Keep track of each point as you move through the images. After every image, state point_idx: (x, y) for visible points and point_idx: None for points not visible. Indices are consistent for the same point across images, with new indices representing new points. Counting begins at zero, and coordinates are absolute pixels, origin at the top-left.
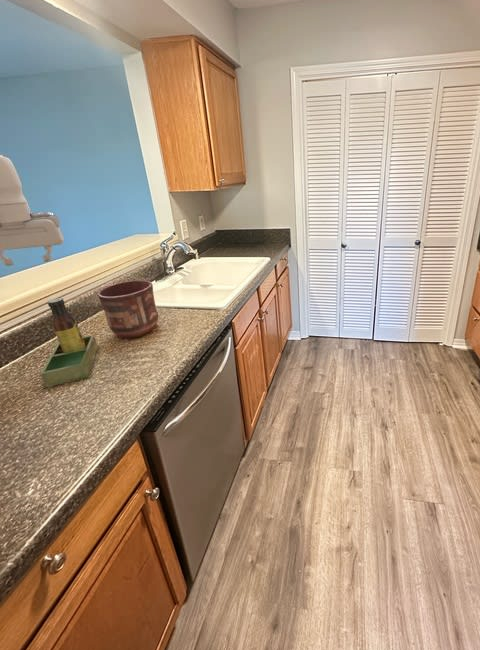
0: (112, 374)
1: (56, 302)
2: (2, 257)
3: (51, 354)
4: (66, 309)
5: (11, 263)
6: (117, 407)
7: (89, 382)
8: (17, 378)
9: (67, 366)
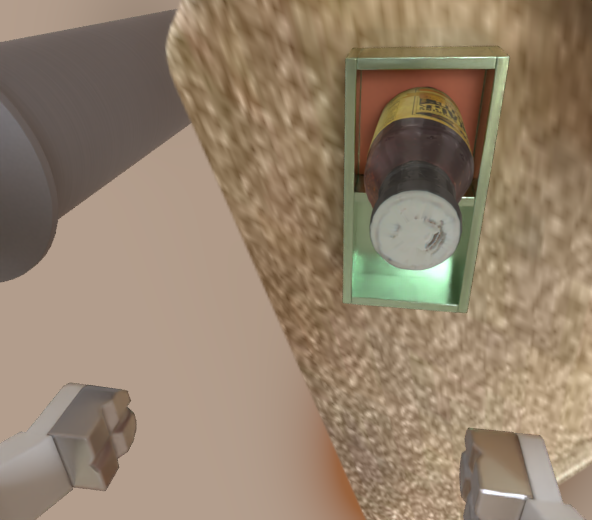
0: (536, 300)
1: (427, 268)
2: (34, 514)
3: (345, 182)
4: (454, 196)
5: (126, 430)
6: None
7: None
8: (242, 174)
9: None
